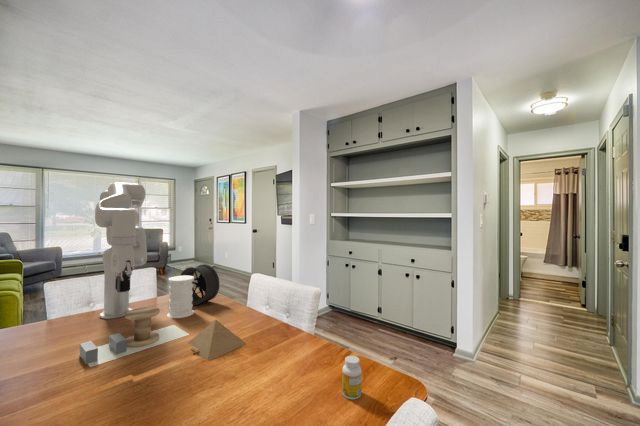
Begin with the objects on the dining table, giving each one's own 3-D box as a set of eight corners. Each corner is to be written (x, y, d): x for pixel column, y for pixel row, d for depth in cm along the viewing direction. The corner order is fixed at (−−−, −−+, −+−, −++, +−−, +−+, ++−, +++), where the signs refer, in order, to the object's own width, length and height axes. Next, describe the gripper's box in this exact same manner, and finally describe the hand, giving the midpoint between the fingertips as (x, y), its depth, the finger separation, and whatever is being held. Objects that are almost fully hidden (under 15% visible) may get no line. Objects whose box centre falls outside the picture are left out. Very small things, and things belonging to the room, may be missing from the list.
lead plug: (115, 291, 106) (115, 272, 106) (126, 289, 109) (126, 271, 109) (118, 293, 104) (119, 274, 104) (130, 290, 107) (130, 272, 107)
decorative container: (186, 310, 141) (186, 274, 141) (199, 315, 134) (199, 277, 134) (162, 316, 132) (162, 278, 131) (174, 322, 125) (175, 282, 125)
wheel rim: (219, 303, 152) (219, 266, 152) (206, 308, 144) (207, 269, 144) (191, 297, 160) (192, 262, 160) (177, 302, 152) (178, 265, 152)
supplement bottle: (340, 388, 81) (341, 354, 81) (358, 387, 82) (359, 354, 82) (343, 400, 76) (344, 364, 76) (363, 399, 76) (364, 364, 76)
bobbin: (119, 340, 104) (120, 312, 104) (152, 331, 113) (152, 305, 113) (130, 350, 97) (130, 320, 97) (164, 339, 106) (164, 311, 106)
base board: (79, 355, 96) (79, 352, 96) (173, 327, 120) (173, 324, 120) (90, 371, 87) (90, 367, 87) (189, 337, 111) (189, 334, 111)
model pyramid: (180, 348, 103) (180, 320, 103) (221, 332, 117) (222, 308, 117) (205, 363, 93) (205, 333, 93) (247, 344, 107) (248, 318, 107)
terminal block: (79, 355, 93) (79, 343, 93) (118, 343, 102) (119, 332, 102) (85, 364, 88) (85, 351, 88) (126, 351, 97) (126, 339, 97)
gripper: (104, 240, 109) (103, 288, 109) (120, 243, 99) (119, 296, 99) (126, 239, 115) (125, 284, 115) (143, 242, 105) (142, 291, 105)
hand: (122, 289), depth 107 cm, fingers closed on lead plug, 3 cm apart
